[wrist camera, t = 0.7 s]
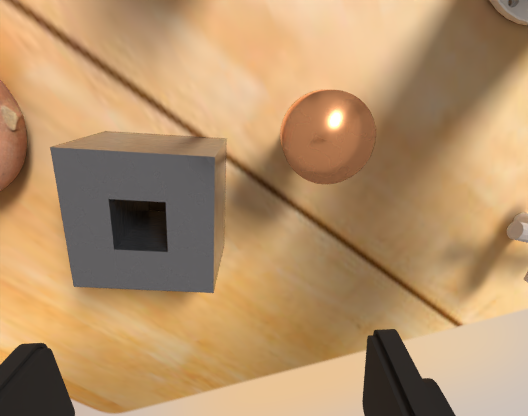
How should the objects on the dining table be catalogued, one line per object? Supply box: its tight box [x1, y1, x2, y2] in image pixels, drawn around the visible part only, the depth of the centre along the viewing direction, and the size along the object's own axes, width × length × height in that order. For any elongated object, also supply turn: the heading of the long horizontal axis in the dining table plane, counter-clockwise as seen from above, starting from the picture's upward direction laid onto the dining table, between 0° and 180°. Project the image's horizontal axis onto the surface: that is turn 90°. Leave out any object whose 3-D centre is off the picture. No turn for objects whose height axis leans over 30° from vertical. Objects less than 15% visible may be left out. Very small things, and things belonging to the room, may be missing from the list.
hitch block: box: [50, 131, 226, 293], centre depth 30 cm, size 12×12×9 cm
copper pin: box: [280, 90, 376, 184], centre depth 27 cm, size 6×6×10 cm
